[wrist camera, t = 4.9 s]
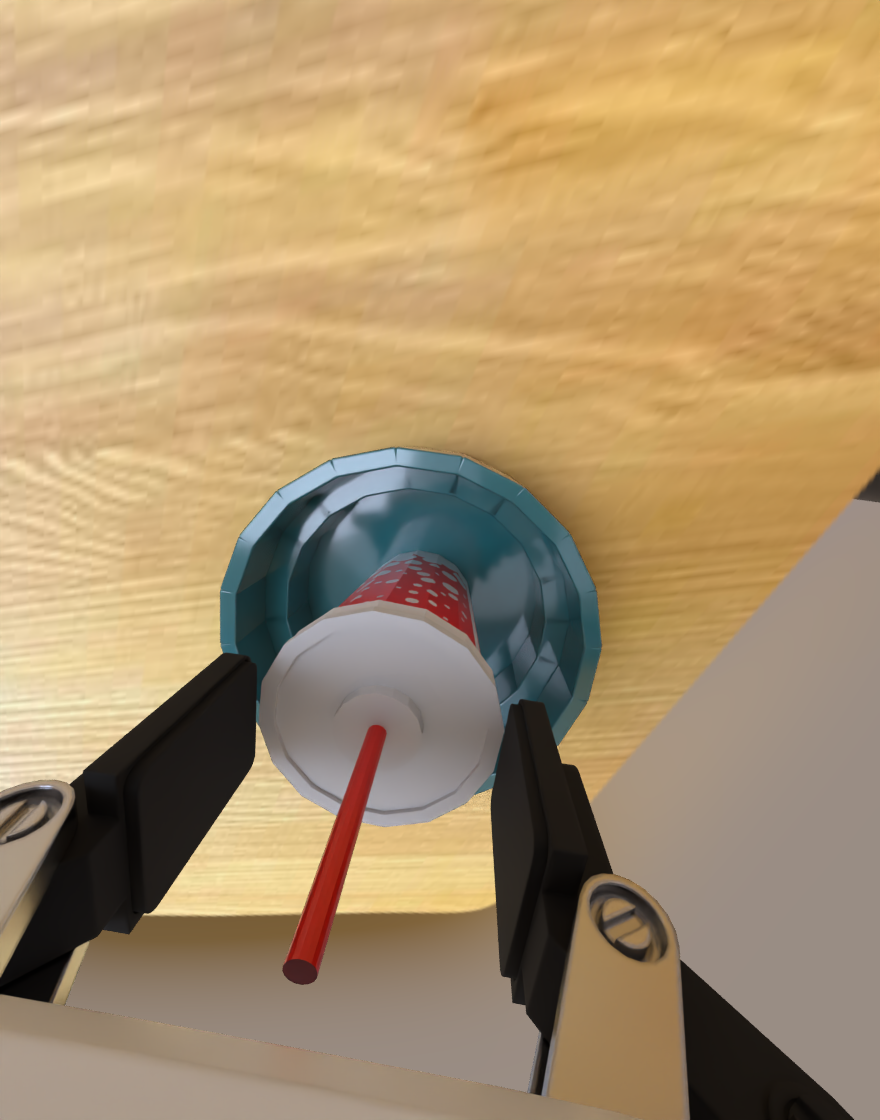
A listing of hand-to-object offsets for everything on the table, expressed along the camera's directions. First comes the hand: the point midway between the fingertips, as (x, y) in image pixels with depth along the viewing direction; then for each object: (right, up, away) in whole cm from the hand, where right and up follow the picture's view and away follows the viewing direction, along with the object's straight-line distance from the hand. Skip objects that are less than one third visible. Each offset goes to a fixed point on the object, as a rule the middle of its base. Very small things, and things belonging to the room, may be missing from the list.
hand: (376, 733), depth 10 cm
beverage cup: (+1, +2, +9) cm, 9 cm away
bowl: (+1, +2, +9) cm, 10 cm away
